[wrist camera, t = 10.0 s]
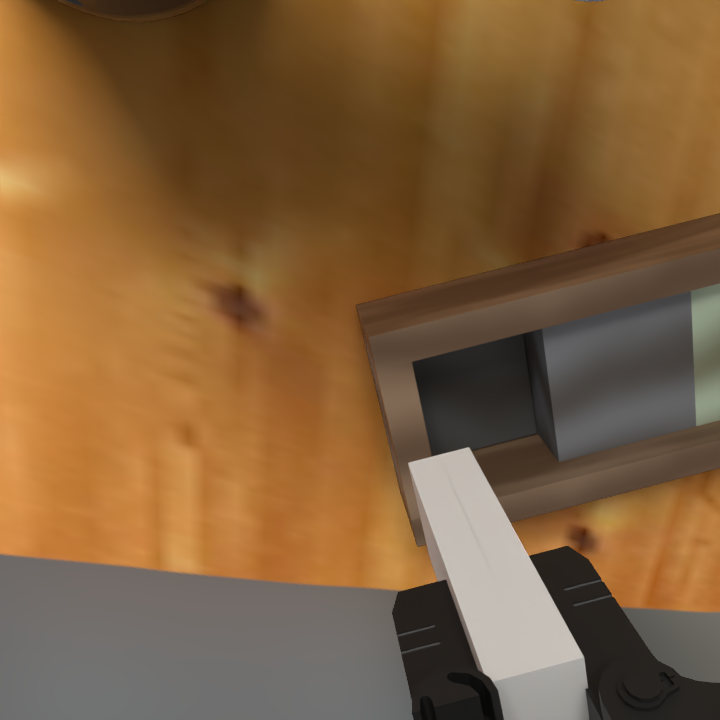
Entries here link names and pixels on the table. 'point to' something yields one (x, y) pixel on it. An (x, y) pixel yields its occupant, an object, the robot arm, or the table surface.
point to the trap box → (559, 370)
